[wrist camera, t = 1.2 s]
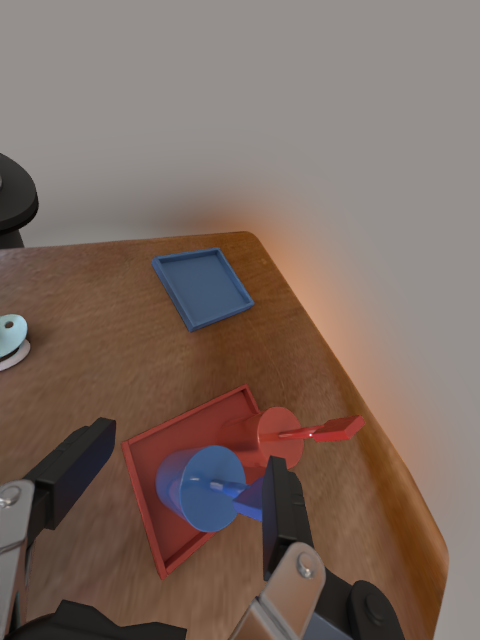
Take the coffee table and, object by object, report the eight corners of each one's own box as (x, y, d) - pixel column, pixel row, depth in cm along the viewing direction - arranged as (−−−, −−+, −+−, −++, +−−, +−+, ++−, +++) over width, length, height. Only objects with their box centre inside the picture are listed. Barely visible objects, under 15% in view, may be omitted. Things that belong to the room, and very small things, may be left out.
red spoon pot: (227, 476, 30) (358, 494, 15) (209, 431, 32) (311, 404, 17) (260, 452, 34) (394, 445, 19) (243, 412, 36) (353, 375, 20)
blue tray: (189, 332, 38) (193, 327, 37) (151, 264, 41) (153, 256, 39) (250, 308, 47) (255, 303, 45) (215, 253, 50) (218, 247, 48)
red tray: (157, 573, 24) (161, 581, 22) (120, 443, 27) (121, 442, 26) (279, 469, 35) (287, 470, 33) (241, 386, 38) (247, 383, 37)
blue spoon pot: (164, 522, 26) (265, 620, 10) (147, 466, 27) (210, 475, 12) (211, 488, 29) (338, 521, 14) (193, 440, 31) (289, 420, 15)
